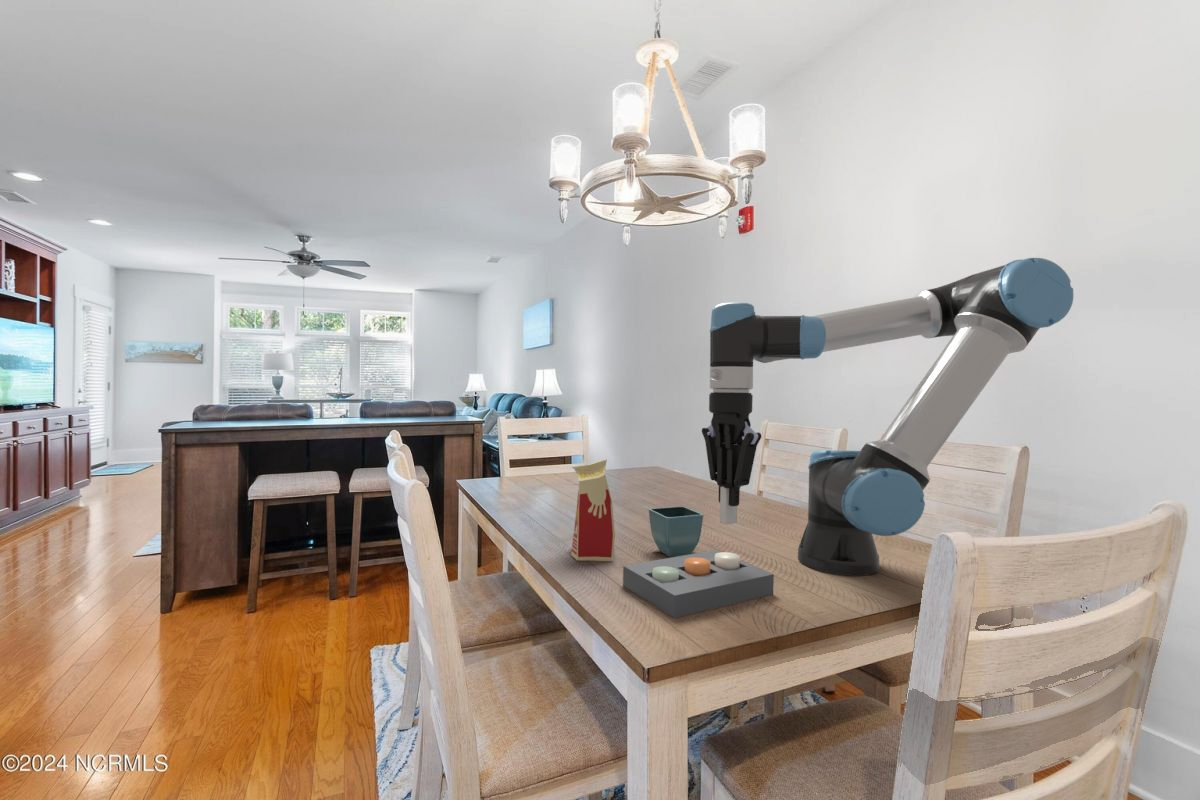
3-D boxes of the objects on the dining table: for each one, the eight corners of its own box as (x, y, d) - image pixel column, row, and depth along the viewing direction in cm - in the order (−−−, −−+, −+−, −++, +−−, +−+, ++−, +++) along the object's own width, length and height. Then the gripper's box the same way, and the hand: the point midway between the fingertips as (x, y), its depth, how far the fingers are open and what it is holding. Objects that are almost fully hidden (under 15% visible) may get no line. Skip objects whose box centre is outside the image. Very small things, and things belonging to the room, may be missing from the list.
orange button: (699, 570, 97) (699, 556, 97) (715, 578, 93) (715, 563, 93) (679, 574, 95) (679, 559, 95) (695, 582, 91) (695, 567, 91)
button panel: (714, 567, 106) (715, 550, 106) (773, 594, 93) (773, 574, 92) (623, 585, 96) (623, 565, 95) (674, 618, 82) (674, 595, 82)
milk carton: (613, 547, 118) (614, 456, 117) (615, 561, 108) (617, 462, 108) (571, 547, 117) (572, 455, 117) (570, 561, 108) (571, 461, 108)
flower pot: (646, 549, 117) (647, 508, 117) (682, 545, 120) (683, 505, 120) (665, 561, 109) (666, 517, 109) (703, 557, 112) (704, 514, 112)
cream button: (727, 564, 100) (728, 551, 100) (744, 572, 96) (745, 557, 96) (709, 568, 98) (709, 554, 98) (726, 576, 94) (726, 561, 94)
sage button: (668, 579, 94) (668, 564, 94) (683, 588, 90) (684, 572, 90) (647, 583, 92) (647, 568, 92) (662, 592, 88) (662, 576, 88)
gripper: (691, 390, 100) (688, 517, 101) (741, 391, 89) (738, 534, 89) (721, 390, 104) (719, 512, 104) (774, 392, 92) (771, 528, 93)
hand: (728, 522), depth 97 cm, fingers closed
